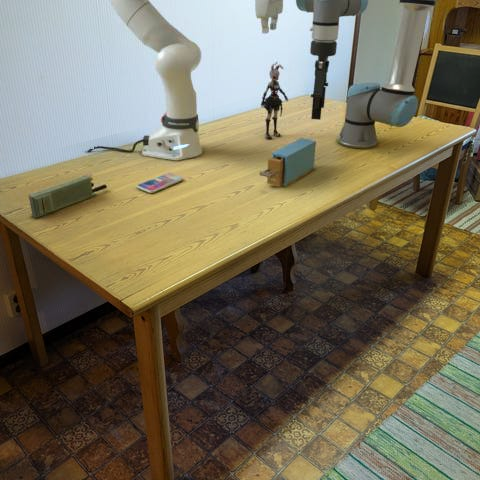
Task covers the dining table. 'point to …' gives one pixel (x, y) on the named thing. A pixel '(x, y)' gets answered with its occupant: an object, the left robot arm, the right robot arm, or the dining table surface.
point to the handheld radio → (62, 195)
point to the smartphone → (159, 182)
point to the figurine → (273, 99)
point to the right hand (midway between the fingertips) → (317, 113)
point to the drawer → (275, 171)
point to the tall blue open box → (297, 159)
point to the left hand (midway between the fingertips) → (269, 31)
